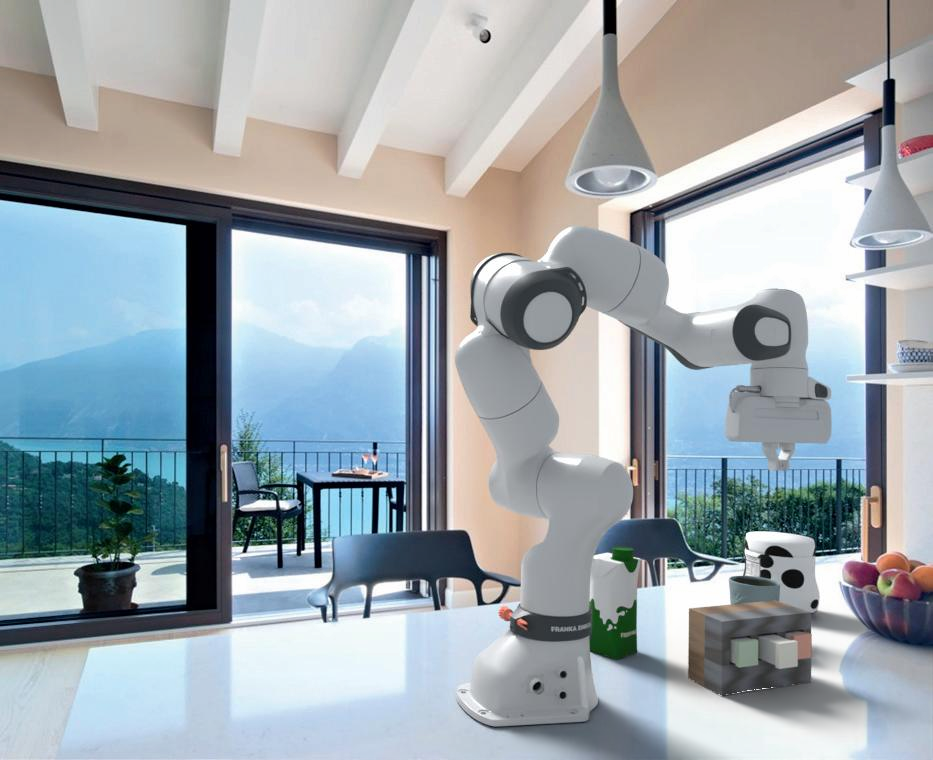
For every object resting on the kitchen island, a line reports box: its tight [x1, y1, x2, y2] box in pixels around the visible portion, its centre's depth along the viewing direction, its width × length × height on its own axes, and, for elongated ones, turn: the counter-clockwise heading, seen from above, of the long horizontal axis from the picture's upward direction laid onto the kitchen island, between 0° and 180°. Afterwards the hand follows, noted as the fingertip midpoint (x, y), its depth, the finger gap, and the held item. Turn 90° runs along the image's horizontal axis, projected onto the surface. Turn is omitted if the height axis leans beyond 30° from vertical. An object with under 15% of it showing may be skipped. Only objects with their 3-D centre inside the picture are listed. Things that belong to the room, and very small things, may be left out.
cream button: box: [758, 634, 798, 669], centre depth 112 cm, size 4×5×4 cm
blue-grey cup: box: [728, 575, 780, 605], centre depth 142 cm, size 10×10×12 cm
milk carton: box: [589, 546, 642, 661], centre depth 131 cm, size 9×9×20 cm
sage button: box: [730, 636, 758, 668], centre depth 112 cm, size 4×5×4 cm
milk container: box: [742, 531, 821, 616], centre depth 163 cm, size 17×17×18 cm
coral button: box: [785, 630, 813, 659], centre depth 117 cm, size 4×5×4 cm
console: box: [687, 600, 812, 696], centre depth 118 cm, size 20×8×12 cm, turn 112°
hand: (778, 470), depth 111 cm, fingers closed
